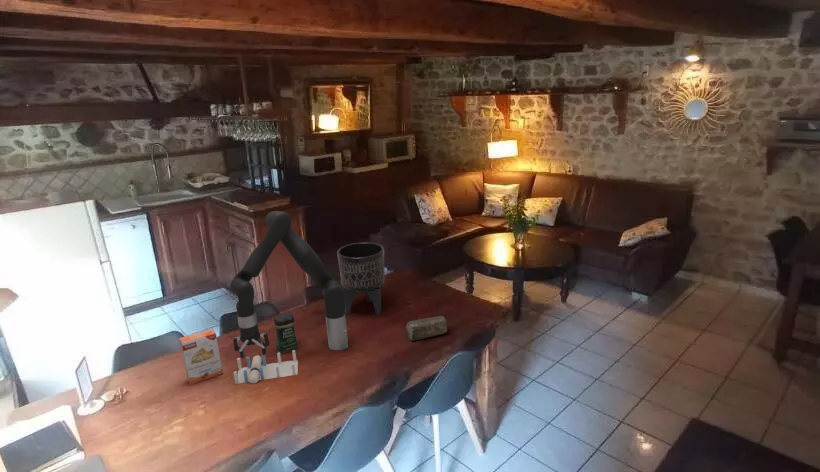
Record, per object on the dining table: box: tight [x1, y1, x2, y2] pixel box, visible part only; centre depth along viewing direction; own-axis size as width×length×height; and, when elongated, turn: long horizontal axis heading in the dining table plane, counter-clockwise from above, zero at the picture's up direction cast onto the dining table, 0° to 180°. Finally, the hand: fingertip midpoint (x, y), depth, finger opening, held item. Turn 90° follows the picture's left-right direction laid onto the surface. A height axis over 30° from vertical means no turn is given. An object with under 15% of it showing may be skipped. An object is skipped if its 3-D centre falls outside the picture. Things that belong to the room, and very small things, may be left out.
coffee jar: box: [273, 311, 299, 354], centre depth 229 cm, size 10×8×19 cm
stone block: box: [405, 315, 448, 342], centre depth 239 cm, size 20×9×10 cm
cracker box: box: [179, 328, 224, 386], centre depth 209 cm, size 14×6×21 cm, turn 124°
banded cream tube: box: [248, 354, 263, 384], centre depth 212 cm, size 16×4×4 cm, turn 11°
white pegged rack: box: [233, 349, 299, 385], centre depth 212 cm, size 26×13×6 cm, turn 101°
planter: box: [336, 241, 385, 316], centre depth 264 cm, size 25×25×36 cm
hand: (253, 356), depth 210 cm, fingers open, 8 cm apart
